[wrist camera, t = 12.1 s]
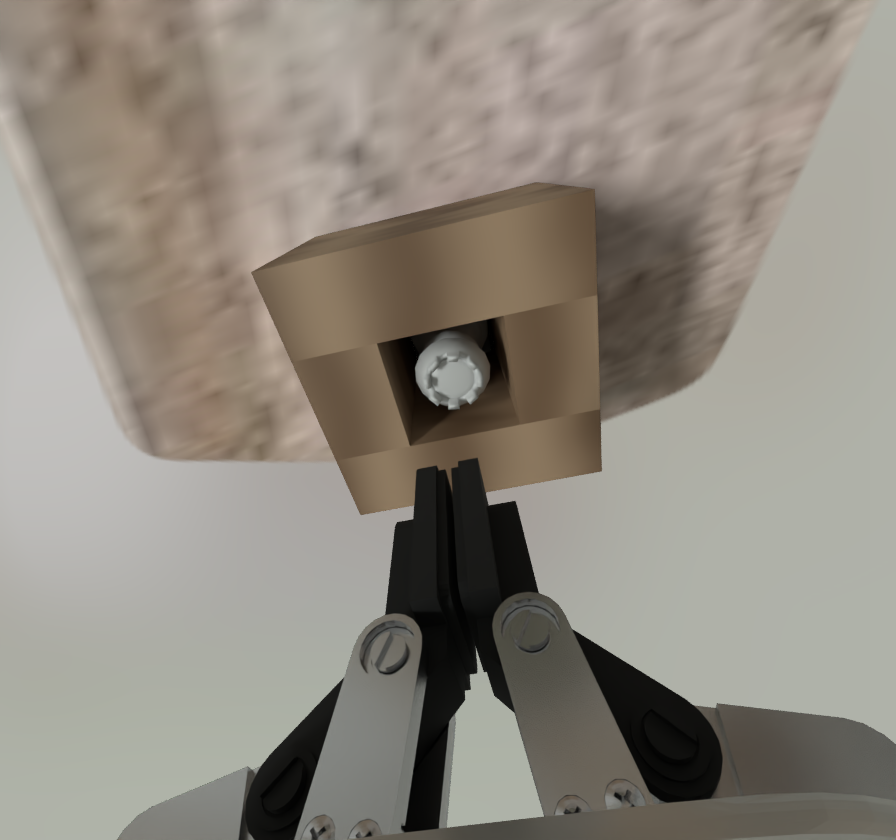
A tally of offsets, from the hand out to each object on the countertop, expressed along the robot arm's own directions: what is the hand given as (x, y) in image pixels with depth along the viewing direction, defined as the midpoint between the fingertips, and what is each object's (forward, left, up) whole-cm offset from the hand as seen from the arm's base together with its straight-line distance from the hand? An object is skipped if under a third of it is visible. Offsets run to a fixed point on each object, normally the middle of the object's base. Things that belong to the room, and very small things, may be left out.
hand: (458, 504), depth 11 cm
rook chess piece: (0, 0, -15) cm, 15 cm away
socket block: (0, 0, -16) cm, 16 cm away
